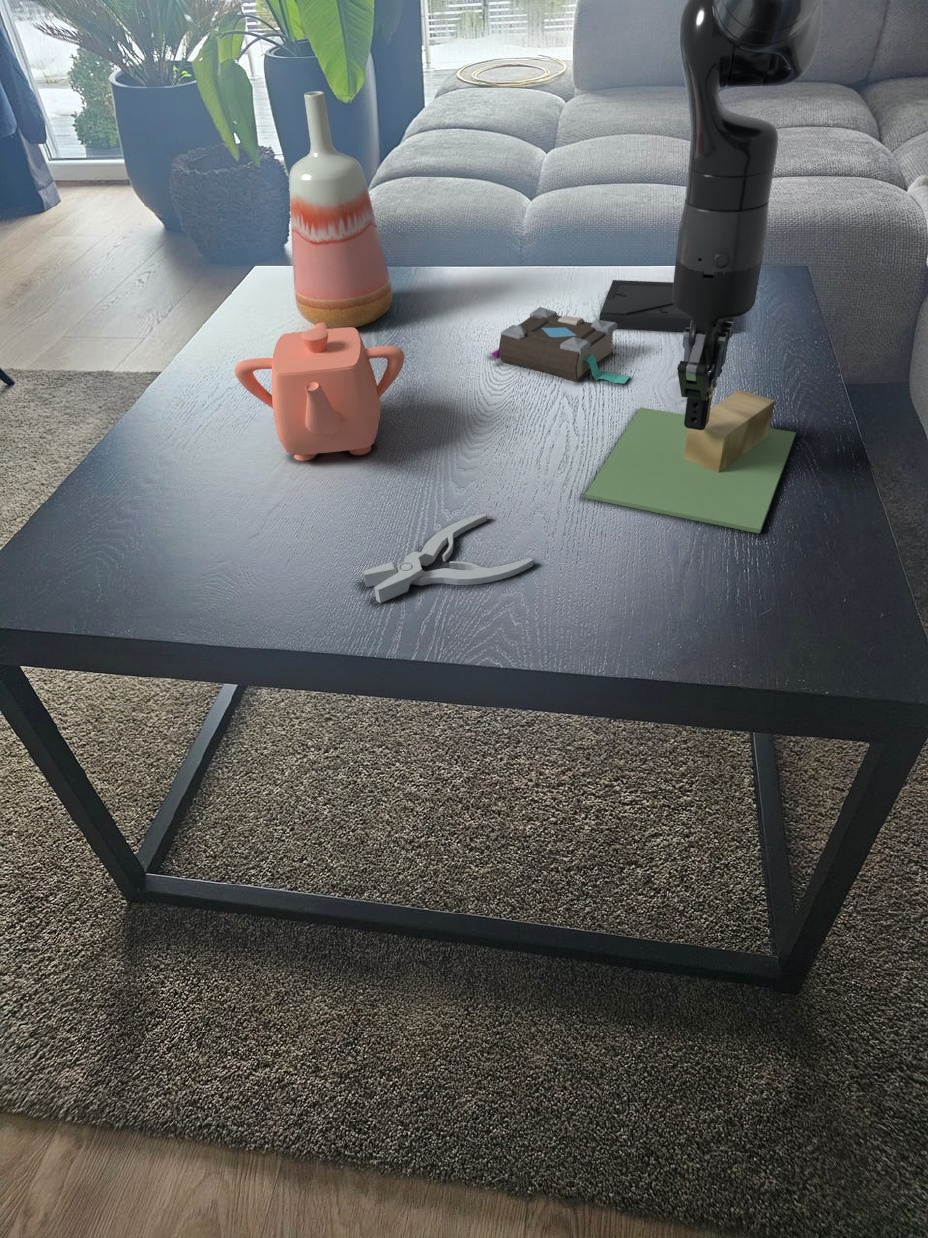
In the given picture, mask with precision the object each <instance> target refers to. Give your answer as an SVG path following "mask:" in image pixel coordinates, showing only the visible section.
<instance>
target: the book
mask: <svg viewBox="0 0 928 1238" xmlns="http://www.w3.org/2000/svg"><path fill="white" fill-rule="evenodd" d="M617 329H618V328H617V323H615V322H608V321H601V320H599V319H596V320H592V322H588V321H585V320H584V318H583V317H576V316H571V315H570V316H569V315H565V314H564V315H558V312H557V311H554V310H552V309H548V308H545V307H542V306H539V307H537V308H536V309H535V310H533V311H532V312H530V313H529V317H528V318H526V319H525V320H523V321H522V322H521V323H519V324H518V325H516V324H515V325H514V324H512V325H510V326H508V327H507V328H504V330H502V331H501V332H500V338H499V345H498V349H497V350H494V351H492V352H491V353H490V355H491V356H493V358H497V357H499V358H500V360H501V362H502V363H505V364H509V365H513V366H517V367H518V366H519V367H522V368H527V369H532V370H536V371H540V372H544V373H547V374H550V375H553V376H557V377H560V378H563V379H565V380H569V381H572V382H576V383H579V382H580V381H581V380H583V378H585V377H586V376H587V375H588V374H589V373H590V372H591V375H592V376H593V378H594V380H595V381H598V380H599V379H603V380H606V381H608V382H610V383H613V384H626V382H627V381H628V379H629V378H630V376H628V375H627V376H626V375H618V374H615V373H612V372H610V371H604V372H601V371H600V369H599V367H598V366H599V365H600V364H601V363H603V362H604V361H606V360H608V359H609V358H611V357H612V356H613V355H614V350H613V343H614V342H613V335H614V332H615V331H616V330H617Z"/></svg>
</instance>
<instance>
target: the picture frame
mask: <svg viewBox="0 0 928 1238" xmlns="http://www.w3.org/2000/svg"><path fill="white" fill-rule="evenodd" d="M673 282H674V281H673ZM673 282H671V281H652V280H651V281H649V280H648V281H647V280H622V279H612V281H611V284H610V286H609V290H608V292H607V295H606V297H605V299H604V302H603V305H602V308H601V310H600V314H599V319H598V320H601V321H608V322H615V323H617V329H619V330H620V329H621V330H639V331H640V330H641V331H656V332H657V331H660V332H679V333H684V331H685V328H690V324H691V320H692V319H691V318H690V317H689V316H688V315H687V314H685V313H682V312H680V311H679V310H677V309H676V308H675V307H674V305H673V303H672V292H673Z"/></svg>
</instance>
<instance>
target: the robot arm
mask: <svg viewBox="0 0 928 1238" xmlns="http://www.w3.org/2000/svg"><path fill="white" fill-rule="evenodd" d="M823 7H824V6H823V0H687V1H686V3H685V6H684V7H683V10H682V13H681V17H680V20H679V28H678V48H679V54H680V61H681V68H682V73H683V74H682V75H683V79H684V85H685V92H686V97H687V107H688V114H689V128H690V129H689V157H688V169H687V179H686V186H685V187H686V188H685V195H684V198H685V199H684V203H683V209H682V214H681V217H680V220H679V221H680V222H679V227H678V235H677V244H676V255H675V265H674V275H673V292H672V303H673V305H674V307H675V308H676V309H677V310H679V311H680V312H682V313H685V314H687V315H688V316H689V317H690V318H691V319H692V320H691V324H690V328H685V331H684V332H683V336H682V347H683V350H684V353H683V360H680V361H679V363H678V364H677V366H676V367H677V368H676V370H677V377H678V383H679V389H680V395H681V397H682V398H686V405H685V412H684V415H685V419H684V426H685V427H686V428H690V429H696V430H704V429H705V427H706V425H707V423H708V421H709V415H710V409H711V408H712V403H713V401H712V400H713V395H714V392H715V390H716V388H717V387H718V382H717V381H718V378H720V376H721V375H722V372H723V367H724V365H725V364H726V359H727V354H728V353H727V352H728V346H729V341H730V339H731V338H732V336H733V332H734V327H735V326H734V325H735V321H734V319H735V318H737V317H740V316H742V315H745V314H746V313H748V312H750V311H751V310H752V309H753V307H754V306H755V303H756V297H757V291H758V286H759V280H760V274H761V268H762V261H763V256H764V250H765V244H766V238H767V231H768V221H769V203H770V196H771V190H772V184H773V183H772V182H773V177H774V171H775V165H776V160H777V155H778V147H779V134H778V130H777V129H776V127H775V126H774V125H773V123H771V122H769V121H766V120H764V119H760V118H758V117H751V116H749V115H742V114H739V113H735V112H734V111H730V110H729V109H727V108H726V107H725V106H724V104H722V102H721V100H720V99H721V98H720V89H721V90H722V89H724V88H760V87H761V88H762V87H779V86H784V85H785V86H786V85H788V84H791V83H793V82H794V81H796V80H798V79H800V78H801V77H802V76H803V75H804V74H805V73H806V72H807V71H808V70H809V69H810V67H811V66H812V63H813V62H814V60H815V57H816V55H817V52H818V50H819V46H820V42H821V38H822V33H823V22H824V21H823V19H824V9H823Z"/></svg>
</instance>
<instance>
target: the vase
mask: <svg viewBox="0 0 928 1238" xmlns="http://www.w3.org/2000/svg"><path fill="white" fill-rule="evenodd" d="M303 97H304V104H305V113H306V119H307V126H308V135H309V142H310V149H309V153H308V154H307V155H306V156H304V157H302V158H301V159H299V160H298V161H296V162H295V163H294V164H293V165H292V166H291V169H290V171H289V176H288V188H289V210H290V211H289V212H290V213H289V214H290V233H291V251H292V252H291V253H292V254H291V255H292V274H293V275H292V276H293V291H294V300H295V304H296V307H297V310H298V312H299V314H300V315H301V316H302V318H304V319H305V320H306V321H308V322H309V323H310V324H312V325H314V326H315V325H316V324H318V323H326V324H328V326H329V328H330V329H333V328H347V327H353V328H355V329H356V328H359V327H362V326H363V327H364V326H366V325H369V324H371V323H373V322H375V321H377V320H378V319H380V318H381V317H382V316H383V315H385V313H387V311H388V310H389V308H390V307H391V304H392V301H393V288H392V283H391V277H390V273H389V269H388V265H387V260H386V256H385V253H384V249H383V244H382V240H381V236H380V233H379V229H378V225H377V221H376V217H375V212H374V209H373V205H372V200H371V197H370V191H369V188H368V185H367V184H368V183H367V180H366V176H365V172H364V169H363V167H362V165H361V163H360V162H359V161H358V160H357V159H356V158H355V157H352V156H351V155H348V154H345V153H344V152H339V151H338V150H337V149H336V148H335V146H334V144H333V139H332V133H331V126H330V120H329V114H328V108H327V102H326V96H325V92H324V91H319V90H315V91H309V92H305V93H304V95H303Z"/></svg>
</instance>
